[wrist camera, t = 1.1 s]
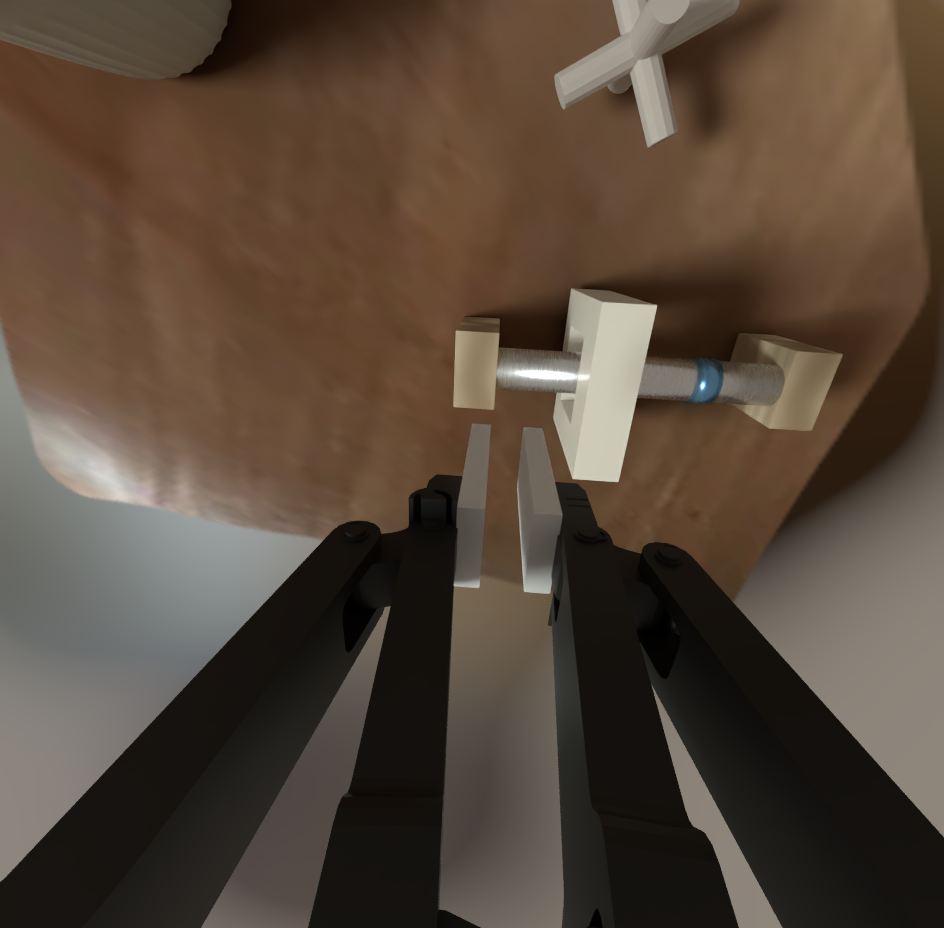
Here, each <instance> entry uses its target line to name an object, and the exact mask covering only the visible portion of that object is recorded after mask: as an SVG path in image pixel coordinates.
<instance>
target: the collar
mask: <svg viewBox="0 0 944 928" xmlns="http://www.w3.org/2000/svg"><path fill="white" fill-rule="evenodd" d="M656 309H657V305H655V304H651V303H648V302H645V301H642V300H638V299H635V298H632V297H629V296H625V295H622V294H619V293H615V292H612V291H609V290H591V289H574V288H571V293H570V301H569V308H568V315H567V322H566V330H565V337H564V344H563V351H565V352H581V353H582V355H581V362H580V368H579V375H578V381H577V387H576V394H572V393H557V395H556V402H555V410H554V417H553V419H554V422H555V425H556V428H557V432H558V435H559V438H560V441H561V444H562V447H563V450H564V454H565V457H566V460H567V463H568V466H569V469H570V472H571V476H572V479H582V480H595V481H609V482H618V481H619V477H620V472H621V468H622V463H623V459H624V454H625V450H626V445H627V441H628V436H629V432H630V427H631V423H632V418H633V413H634V409H635V404H636V400H637V395H638V391H639V386H640V382H641V377H642V373H643V368H644V364H645V359H646V355H647V350H648V345H649V341H650V336H651V332H652V327H653V323H654V318H655V314H656Z"/></svg>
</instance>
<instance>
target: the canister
mask: <svg viewBox="0 0 944 928" xmlns="http://www.w3.org/2000/svg"><path fill="white" fill-rule="evenodd" d="M231 7H232V4H231V0H0V40H3V41H6V42H9V43H12V44H15V45H19V46H22V47H25V48H28V49H31V50H34V51H38V52H41V53H44V54H48V55H51V56H54V57H58V58H61V59H64V60H68V61H71V62H75V63H78V64H82V65H86V66H89V67H93V68H97V69H100V70H104V71H108V72H111V73H116V74H119V75H123V76H127V77H131V78H135V79H151V80H163V79H165V78H177V77H179V76H180V75H181V74H182V73H189V72H191V71H192V70H193V68H195V67H196V66H198V65H201V64H203V62H204V60H205V58H206V57H207V56H208V55H210V54H212V53H213V50H214V47H215V46H216V44H217V43H218V42H219V41H221V35H222V32H223V30H224V28H225V27H226V26H227V19H228V14H229V11H230V9H231Z"/></svg>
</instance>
